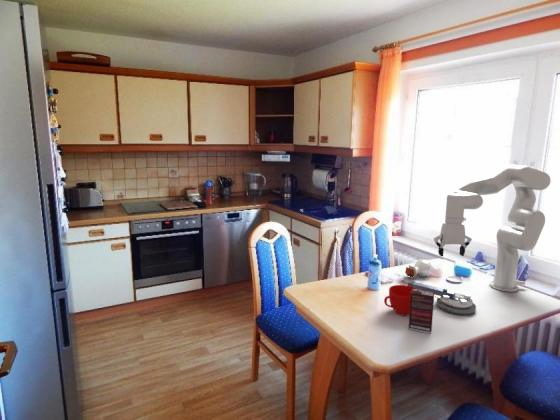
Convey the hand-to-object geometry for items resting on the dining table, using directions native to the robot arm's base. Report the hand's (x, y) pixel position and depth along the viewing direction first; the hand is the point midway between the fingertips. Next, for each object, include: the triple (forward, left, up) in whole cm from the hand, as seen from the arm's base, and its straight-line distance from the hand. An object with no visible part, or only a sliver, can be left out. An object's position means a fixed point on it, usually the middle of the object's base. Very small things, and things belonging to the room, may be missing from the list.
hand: (451, 255), depth 175 cm
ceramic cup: (+28, +18, -21) cm, 40 cm away
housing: (+1, +12, -21) cm, 24 cm away
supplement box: (+24, +32, -21) cm, 45 cm away
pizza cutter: (+7, +8, -18) cm, 21 cm away
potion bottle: (+5, -26, -21) cm, 33 cm away
